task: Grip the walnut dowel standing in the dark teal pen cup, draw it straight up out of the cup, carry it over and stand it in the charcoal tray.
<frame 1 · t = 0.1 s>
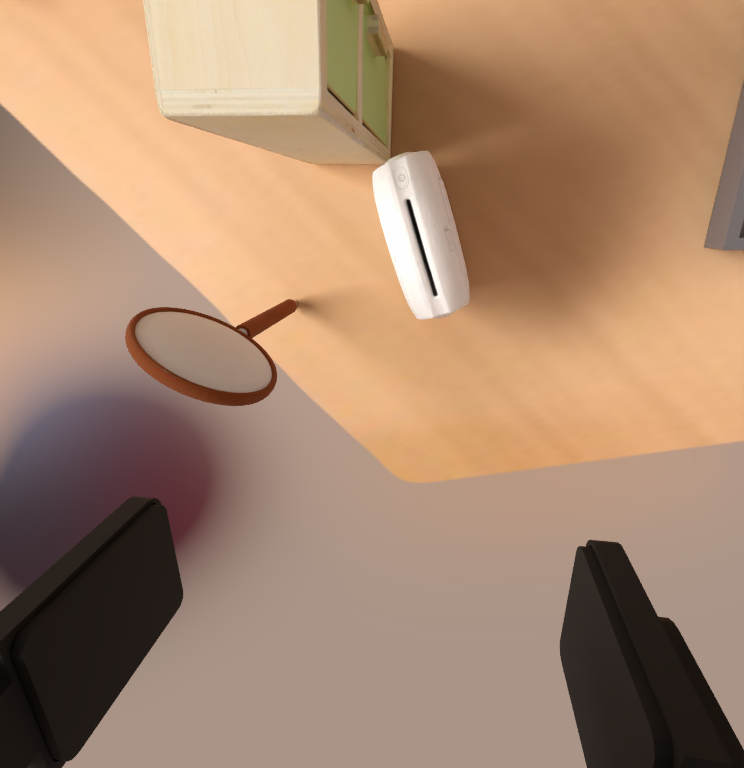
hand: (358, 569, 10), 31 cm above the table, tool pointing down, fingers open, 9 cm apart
magnifying glass: (294, 303, 41), on the table
photo printer: (430, 233, 37), on the table
toy refrigerator: (356, 110, 35), on the table
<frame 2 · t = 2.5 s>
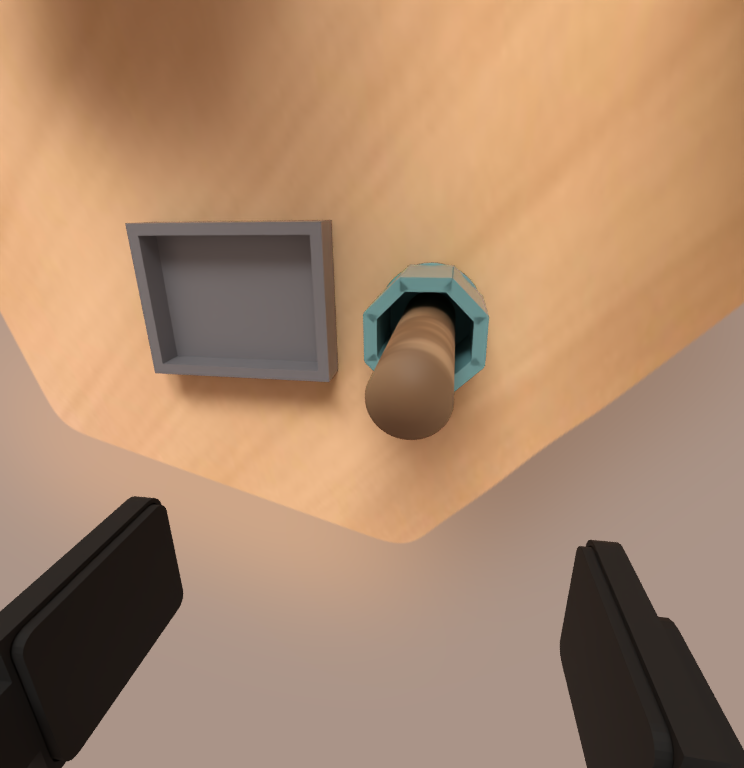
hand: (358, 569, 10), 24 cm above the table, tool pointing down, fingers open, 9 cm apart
tray: (245, 297, 34), on the table
dowel: (429, 317, 32), resting on cup
cup: (430, 315, 32), on the table
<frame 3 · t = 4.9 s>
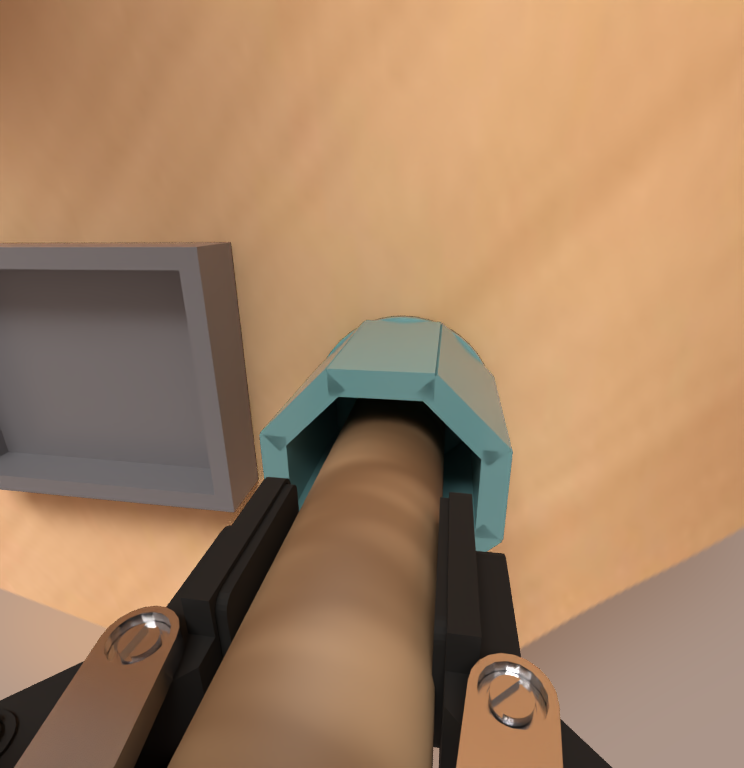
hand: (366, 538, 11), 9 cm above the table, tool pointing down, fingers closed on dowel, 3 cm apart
tray: (104, 366, 21), on the table
dowel: (401, 406, 19), resting on cup, touching gripper
cup: (403, 401, 19), on the table
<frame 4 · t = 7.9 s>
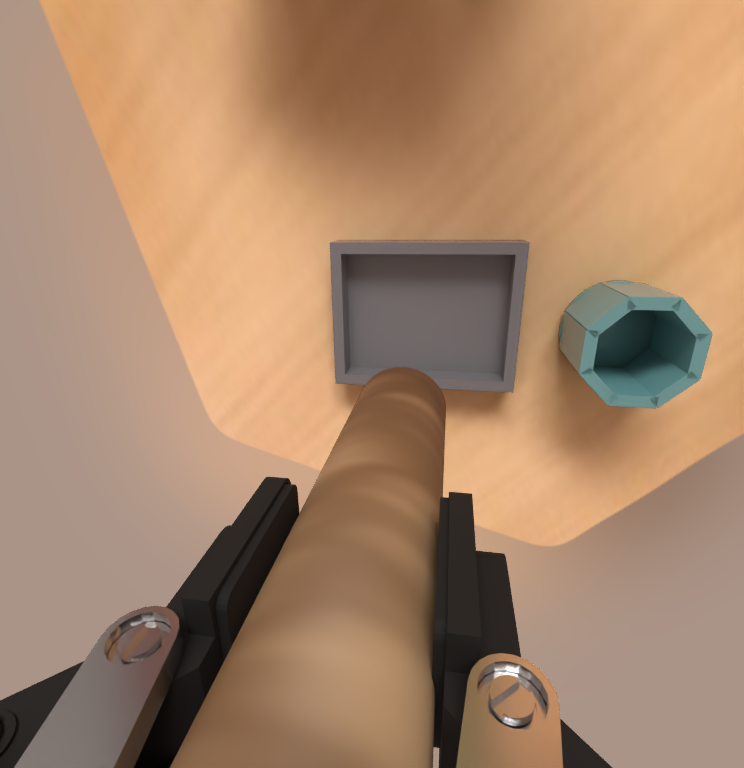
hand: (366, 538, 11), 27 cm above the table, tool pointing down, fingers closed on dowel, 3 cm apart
tray: (425, 312, 36), on the table
dowel: (401, 408, 19), point 19 cm above the table, touching gripper
cup: (610, 329, 34), on the table
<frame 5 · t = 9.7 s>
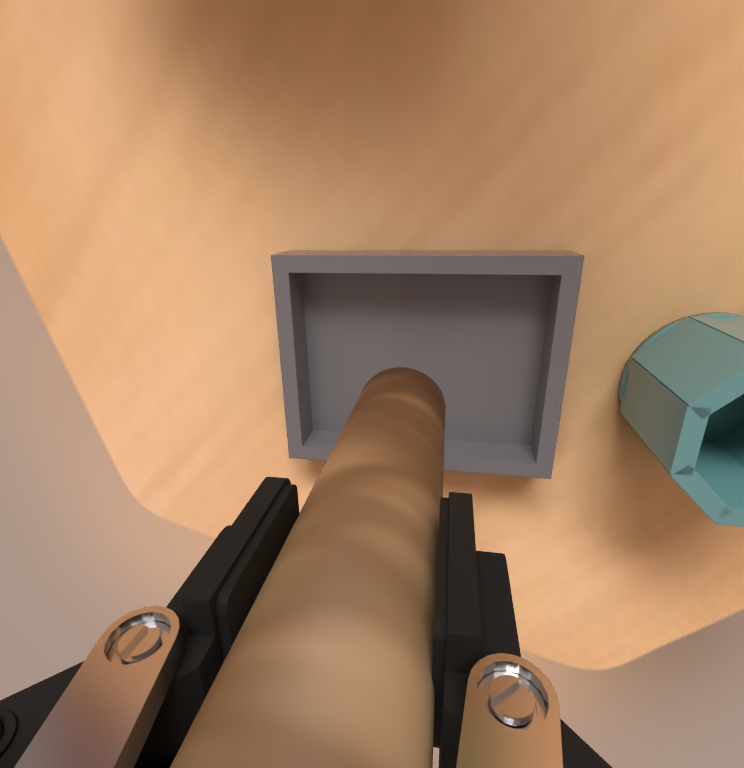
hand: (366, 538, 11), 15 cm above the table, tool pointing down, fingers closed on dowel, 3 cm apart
tray: (420, 355, 25), on the table
dowel: (401, 408, 19), point 7 cm above the table, touching gripper
cup: (699, 385, 23), on the table
when the fingers open (10 cm above the table, at t = 11.2 s): dowel drops 1 cm, resting on tray.
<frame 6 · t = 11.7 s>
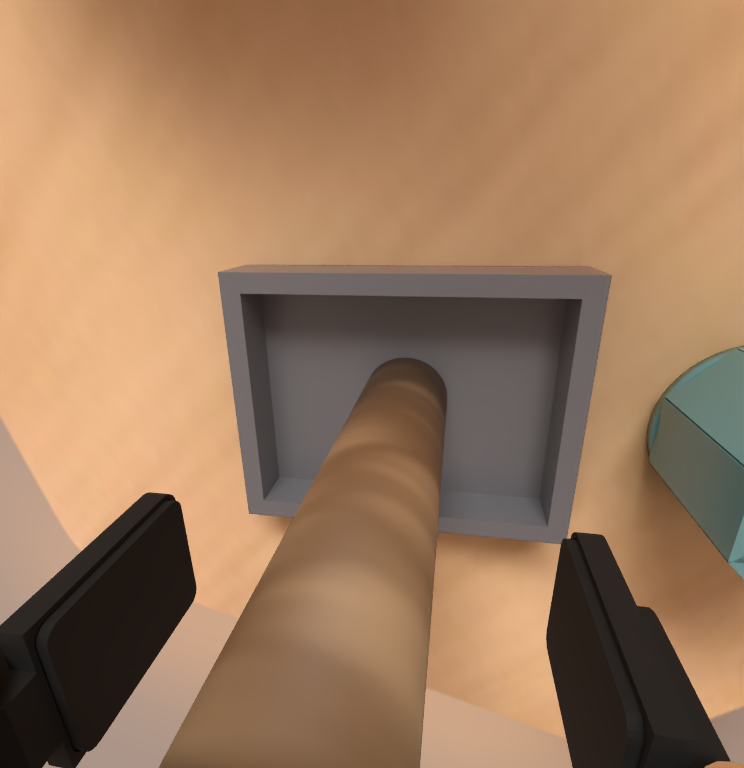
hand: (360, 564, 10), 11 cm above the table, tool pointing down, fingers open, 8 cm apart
tray: (405, 390, 20), on the table
dowel: (405, 396, 20), point 1 cm above the table, touching tray
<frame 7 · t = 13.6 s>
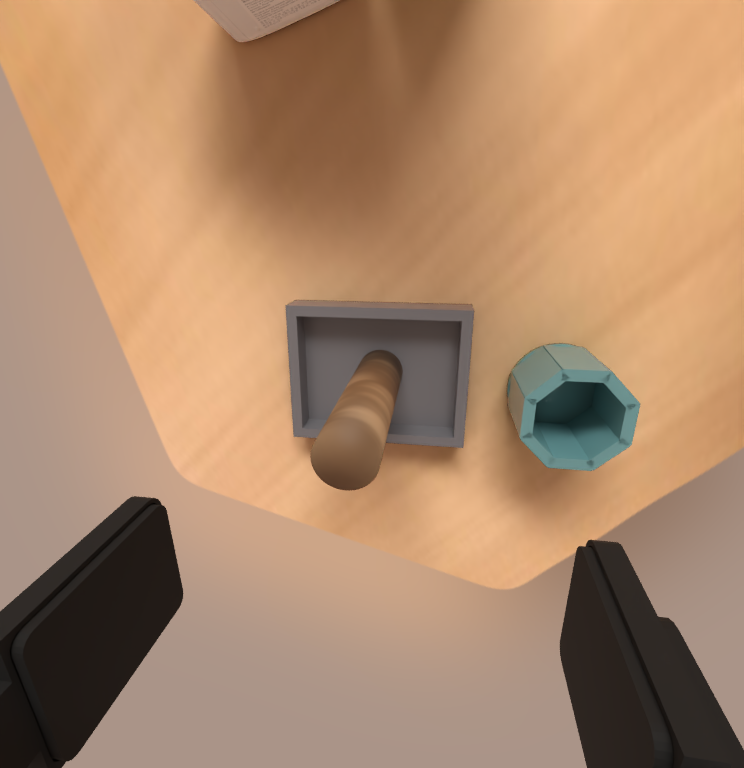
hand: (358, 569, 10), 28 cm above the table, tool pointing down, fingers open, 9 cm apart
tray: (380, 368, 38), on the table
dowel: (380, 370, 37), point 1 cm above the table, touching tray
cup: (554, 388, 36), on the table
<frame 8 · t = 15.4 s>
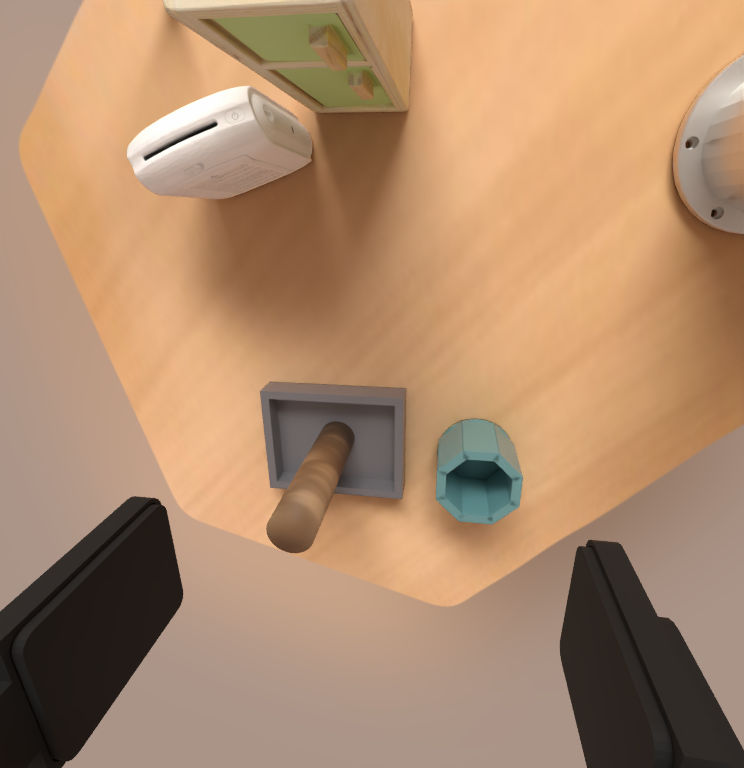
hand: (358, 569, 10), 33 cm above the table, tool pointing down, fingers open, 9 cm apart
tray: (338, 434, 47), on the table
photo printer: (260, 160, 39), on the table
dowel: (337, 437, 47), point 1 cm above the table, touching tray
toy refrigerator: (360, 72, 36), on the table
cup: (474, 452, 45), on the table
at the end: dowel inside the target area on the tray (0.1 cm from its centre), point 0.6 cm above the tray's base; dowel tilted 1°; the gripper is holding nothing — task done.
